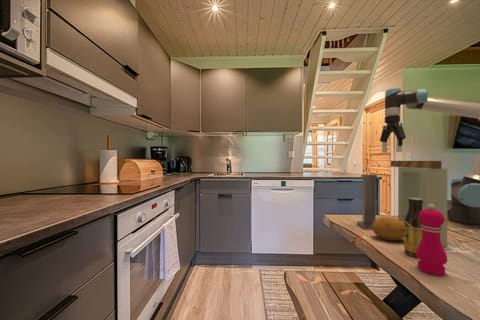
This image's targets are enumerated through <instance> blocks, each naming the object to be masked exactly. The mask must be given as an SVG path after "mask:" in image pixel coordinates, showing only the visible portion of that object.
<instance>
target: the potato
mask: <svg viewBox="0 0 480 320" xmlns="http://www.w3.org/2000/svg"><path fill="white" fill-rule="evenodd" d="M372 229H373V230H372V232H374V234H375V236H377V237H379V238H381V239H383V240H386V241H397V240H398V241H399V240H402V239H404V222H403V221H401V220H398V218H393V217H378V218H377V219H376V218H375V221H374V222H373V224H372Z"/></svg>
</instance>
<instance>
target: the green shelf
mask: <svg viewBox="0 0 480 320" xmlns="http://www.w3.org/2000/svg"><path fill="white" fill-rule="evenodd" d="M397 168H398V169H397V170H398V173H397V174H398V177H397V179H398V182H397V184H398V187H397V188H398V191H397V192H398V194H397V195H398V196H397V197H398V199H397V201H398V202H397V203H398V204H397V207H398V208H397V211H398V213H397V215H398V217H397V220H401V221H403V222H404V219H405V217H406V215H407V213H408V210H409V202H408V198H421V199H423V204H422V210H424V209H428V207H427V206H428V205H429V204H433V205H434V206H435V209H434V210H437V211H439V212H441V213H442V214H443V215H444V219H445V222H444V223H443V224H442V225H441V227H442V232H441V233H440V240H441V244H442V246H443V247H448V219H447V214H448V168H443V167H441V169H431V168H410V167H397Z"/></svg>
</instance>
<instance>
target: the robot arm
mask: <svg viewBox="0 0 480 320" xmlns="http://www.w3.org/2000/svg"><path fill="white" fill-rule="evenodd" d="M384 95H385V96H384V124H386V125H383V127H382V131H381V135H380V138H379V142H381V143H382V144H381V153H382V154H383V153H384V154H387V153H388V145H389V144H388V143H389V142H388V141H389V140H388V139H389V137H390V136H391V134H392V133H393V134H394V136H395V137H396V143H395V144H396V145H395V148H396V149H395V150H396V151H395V152H396V153H403V141H404V140H405V139H406V138H407V136H406V134H405V130H404V127H403V122H401V105H405V107H406V108H407V109H409V110H415V109H416V110H422V111H429V112H434V113H440V114H441V113H442V114H448V115H453V116H459V117H464V118H473V119H478V121H479V122H480V103H479V102H478V103H477V102H472V101H470V102H469V101H465V100H464V101H462V100H455V99H448V98H447V99H446V98H441V97H440V98H438V97H432V96H429V90H428V89H427V88H418V89H417V88H416V89H410V90H404V91H403V90H402V89H401V88H400V87H392V88H389V89H386V90H385V93H384ZM447 221H450V222H453V223H458V224H463V225H471V226H472V225H473V226H480V154H479V155H478V157H477V159H476V161H475V163H474V165H473V167H472V169H471V170H470V172H469V174H466V175H463V177H462V178H453V179H451V181H450V206H449V209H448V210H447Z"/></svg>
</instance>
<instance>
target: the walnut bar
mask: <svg viewBox="0 0 480 320" xmlns="http://www.w3.org/2000/svg"><path fill="white" fill-rule="evenodd" d="M390 167H393V168H398V167H410V168H431V169H441V168H442V160H390Z"/></svg>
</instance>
